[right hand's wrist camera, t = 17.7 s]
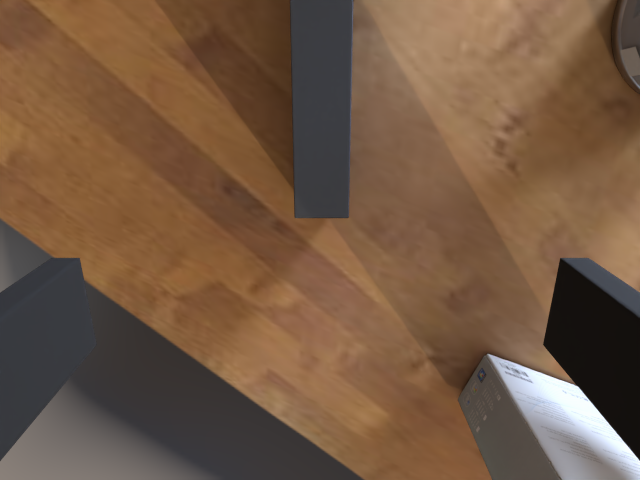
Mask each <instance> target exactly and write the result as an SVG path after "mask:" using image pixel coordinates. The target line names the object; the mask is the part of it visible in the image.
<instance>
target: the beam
mask: <svg viewBox="0 0 640 480" xmlns="http://www.w3.org/2000/svg"><path fill="white" fill-rule="evenodd" d="M290 26H291V72H292V118H293V164H294V210H295V218H348V217H349V179H350V132H351V85H352V38H353V0H290Z"/></svg>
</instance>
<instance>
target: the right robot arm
mask: <svg viewBox="0 0 640 480" xmlns="http://www.w3.org/2000/svg"><path fill="white" fill-rule="evenodd" d="M612 49H613V55H614V59H615V62H616V65H617V67H618V70H619V72H620V73H621V75H622V77H623V78H624V80H625V81H626V82H627V83H628V85H629V86H630V87H631V88H632V89H634V90H635V91H636V92H637V93H639V94H640V0H618V3H617V6H616V9H615V13H614V18H613V24H612ZM96 345H97V343H96V338H95V333H94V328H93V323H92V318H91V313H90V308H89V303H88V298H87V293H86V288H85V283H84V278H83V273H82V268H81V262H80V258H51V259H49V260H48V261H46V262H45V263H43V264H42V265H41V266H39V267H38V268H36V269H35V270H33V271H32V272H30V273H29V274H27V275H26V276H24V277H23V278H21V279H20V280H18V281H17V282H15V283H14V284H12V285H11V286H9V287H8V288H7V289H5V290H4V291H2V292H1V293H0V461H1V459H2V458H3V457H4V456H5V455H6V453H7V452H8V451H9V450H10V449H11V447H12V446H13V445H14V444H15V443H16V441H17V440H18V439H19V438H20V437H21V435H22V434H23V433H24V432H25V431H26V429H27V428H28V427H29V426H30V425H31V423H32V422H33V421H34V420H35V419H36V417H37V416H38V415H39V414H40V413H41V411H42V410H43V409H44V408H45V406H46V405H47V404H48V403H49V402H50V400H51V399H52V398H53V397H54V396H55V394H56V393H57V392H58V391H59V390H60V389H61V387H62V386H63V385H64V384H65V382H66V381H67V380H68V379H69V378H70V376H71V375H72V374H73V373H74V372H75V370H76V369H77V368H78V367H79V366H80V364H81V363H82V362H83V361H84V360H85V358H86V357H87V356H88V355H89V354H90V352H91V351H92V350H93V349H94V348H95V346H96ZM543 345H544V346H545V348H546V349H547V350H548V351H549V352H550V354H551V355H552V356H553V357H554V358H555V360H556V361H557V362H558V363H559V364H560V366H561V367H562V368H563V369H564V370H565V372H566V373H567V374H568V375H569V376H570V378H571V379H572V380H573V381H574V382H575V384H576V385H577V386H578V387H579V389H580V390H581V391H582V392H583V393H584V395H585V396H586V397H587V398H588V399H589V401H590V402H591V403H592V404H593V405H594V407H595V408H596V409H597V410H598V411H599V413H600V414H601V415H602V416H603V417H604V419H605V420H606V421H607V422H608V423H609V425H610V426H611V427H612V428H613V429H614V431H615V432H616V433H617V434H618V435H619V437H620V438H621V439H622V440H623V441H624V443H625V444H626V445H627V446H628V447H629V449H630V450H631V451H632V452H633V453H634V455H635V456H636V457H637V458H638V459H639V461H640V293H639V292H638V291H636V290H635V289H633V288H632V287H631V286H629V285H628V284H626V283H625V282H623V281H622V280H620V279H619V278H617V277H616V276H614V275H613V274H611V273H610V272H608V271H607V270H605V269H604V268H602V267H601V266H599V265H598V264H597V263H595V262H594V261H592V260H591V259H589V258H560V262H559V268H558V273H557V278H556V283H555V288H554V293H553V298H552V303H551V308H550V313H549V318H548V323H547V328H546V333H545V338H544V343H543Z"/></svg>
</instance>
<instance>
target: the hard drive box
mask: <svg viewBox="0 0 640 480" xmlns="http://www.w3.org/2000/svg"><path fill="white" fill-rule="evenodd" d="M458 401H459V404H460V406H461V408H462V411H463V413H464V415H465V418H466V420H467V422H468V425H469V427H470V429H471V431H472V434H473V436H474V438H475V441H476V443H477V445H478V448H479V450H480V452H481V454H482V457H483V459H484V461H485V464H486V466H487V468H488V471H489V473H490V475H491V478H492V480H640V461H639V459H638V458H637V457H636V456H635V455H634V453H633V452H632V451H631V450H630V449H629V447H628V446H627V445H626V444H625V443H624V441H623V440H622V439H621V438H620V437H619V435H618V434H617V433H616V432H615V431H614V429H613V428H612V427H611V426H610V425H609V423H608V422H607V421H606V420H605V419H604V417H603V416H602V415H601V414H600V413H599V411H598V410H597V409H596V408H595V407H594V405H593V404H592V403H591V402H590V401H589V399H588V398H587V397H586V396H585V395H584V393H583V392H582V391H581V390H580V389H579V387H577V386H575V385H573V384H570V383H567V382H564V381H561V380H558V379H556V378H553V377H550V376H548V375H545V374H542V373H539V372H537V371H534V370H531V369H529V368H526V367H523V366H521V365H519V364H516V363H513V362H510V361H507V360H504V359H501V358H498V357H496V356H493V355H490V354H487V355H486V356H484V357H483V359H482V360H481V362H480V363H479V365H478V367H477V368H476V370H475V372H474V373H473V375H472V376H471V378H470V380H469V381H468V383H467V385H466V386H465V388H464V389H463V391H462V393H461V394H460V396H459V398H458Z"/></svg>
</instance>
